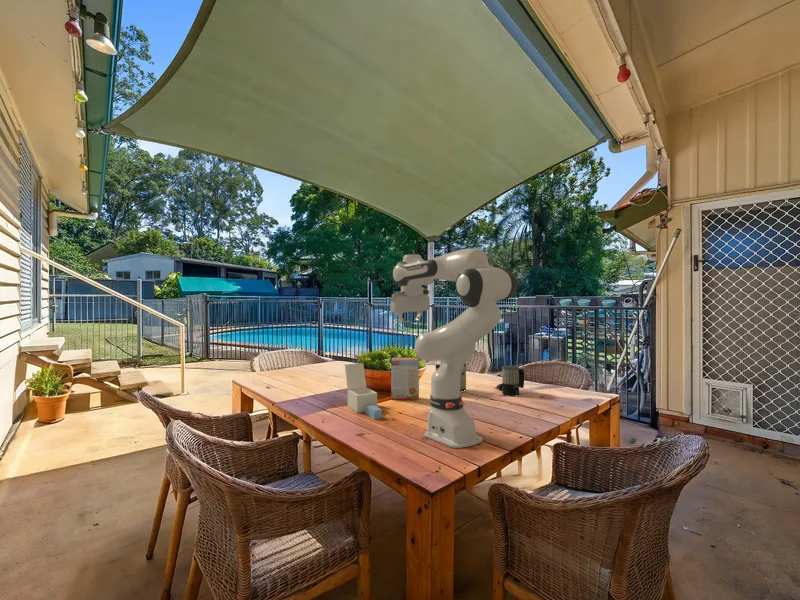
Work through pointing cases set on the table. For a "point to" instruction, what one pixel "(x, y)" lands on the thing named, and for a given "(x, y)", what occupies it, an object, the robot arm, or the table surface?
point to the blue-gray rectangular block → (373, 411)
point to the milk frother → (511, 380)
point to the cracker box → (405, 378)
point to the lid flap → (355, 375)
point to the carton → (361, 399)
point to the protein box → (463, 377)
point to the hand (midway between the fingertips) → (409, 321)
